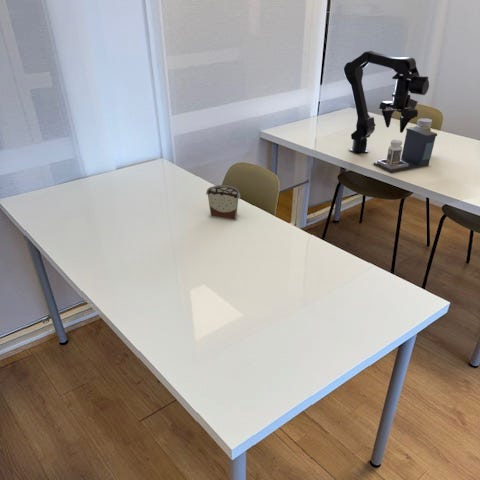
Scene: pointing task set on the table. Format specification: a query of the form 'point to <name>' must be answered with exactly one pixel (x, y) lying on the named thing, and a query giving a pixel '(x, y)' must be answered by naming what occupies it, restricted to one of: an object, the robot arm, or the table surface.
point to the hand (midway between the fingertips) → (394, 129)
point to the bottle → (424, 123)
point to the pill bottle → (394, 153)
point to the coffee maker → (412, 151)
